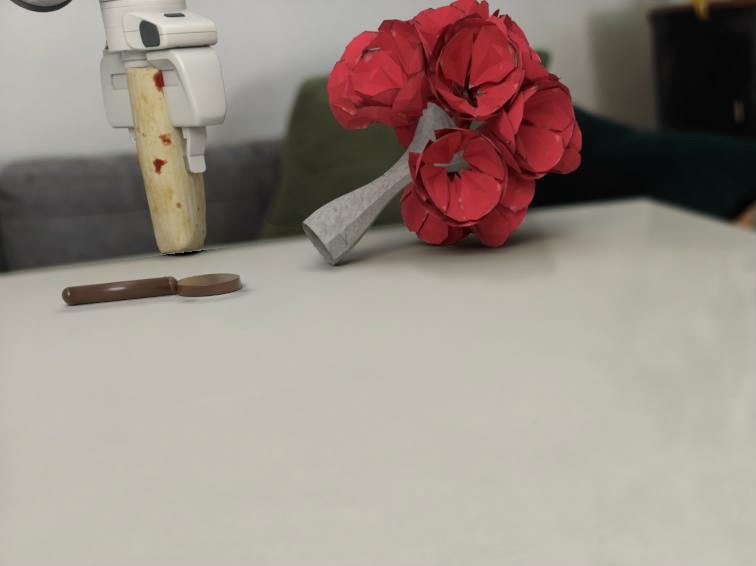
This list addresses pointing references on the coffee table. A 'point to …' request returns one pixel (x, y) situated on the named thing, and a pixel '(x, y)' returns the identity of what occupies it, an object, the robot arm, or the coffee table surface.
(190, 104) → the robot arm
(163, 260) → the coffee table surface
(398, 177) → the bouquet
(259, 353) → the coffee table surface
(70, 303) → the spoon
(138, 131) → the food model
